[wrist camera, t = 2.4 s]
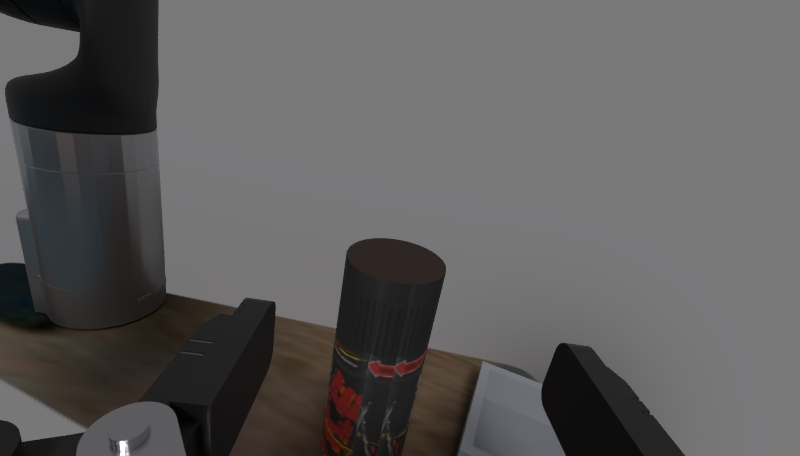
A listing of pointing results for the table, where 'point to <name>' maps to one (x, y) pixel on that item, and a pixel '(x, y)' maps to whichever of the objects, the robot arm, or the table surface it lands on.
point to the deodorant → (380, 345)
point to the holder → (507, 418)
